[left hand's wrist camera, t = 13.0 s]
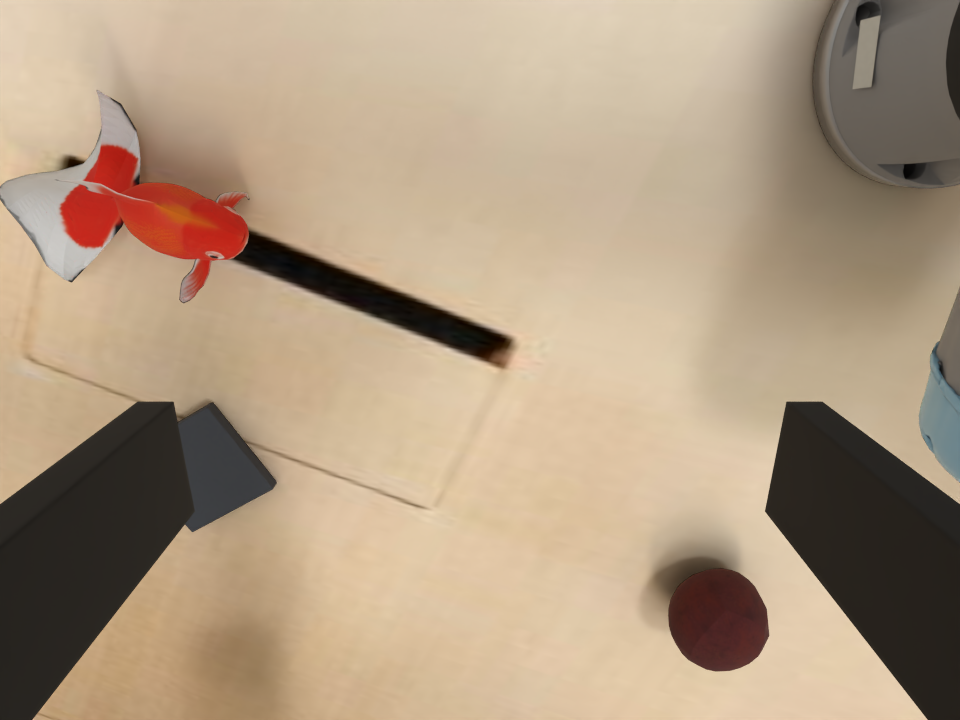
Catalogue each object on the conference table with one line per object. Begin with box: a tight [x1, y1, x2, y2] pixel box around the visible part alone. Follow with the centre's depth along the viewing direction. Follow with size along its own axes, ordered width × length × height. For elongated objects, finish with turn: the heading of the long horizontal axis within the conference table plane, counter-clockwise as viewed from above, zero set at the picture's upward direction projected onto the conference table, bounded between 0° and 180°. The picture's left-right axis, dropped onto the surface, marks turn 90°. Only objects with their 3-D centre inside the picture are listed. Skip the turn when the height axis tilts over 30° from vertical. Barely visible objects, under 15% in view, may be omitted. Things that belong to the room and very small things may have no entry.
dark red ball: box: [668, 568, 769, 671], centre depth 46 cm, size 7×8×7 cm
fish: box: [0, 90, 250, 303], centre depth 35 cm, size 11×16×10 cm
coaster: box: [178, 403, 277, 532], centre depth 45 cm, size 8×8×1 cm
